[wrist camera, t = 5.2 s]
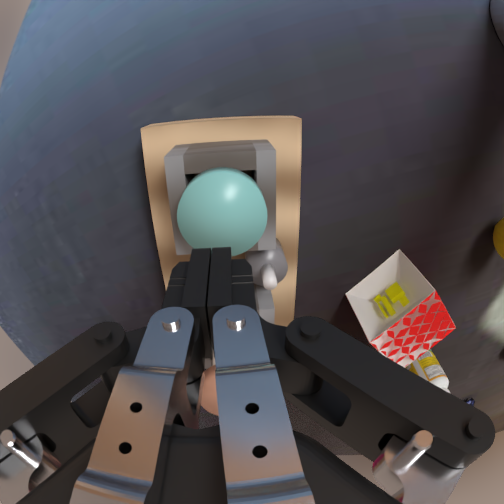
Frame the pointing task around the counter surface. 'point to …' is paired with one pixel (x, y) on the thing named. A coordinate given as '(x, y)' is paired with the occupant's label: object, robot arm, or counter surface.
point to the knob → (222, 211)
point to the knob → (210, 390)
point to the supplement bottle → (429, 370)
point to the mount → (237, 157)
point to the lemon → (499, 237)
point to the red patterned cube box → (400, 310)
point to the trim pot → (268, 266)
